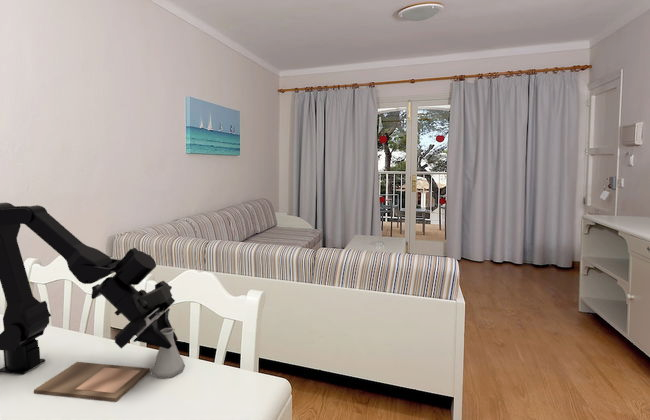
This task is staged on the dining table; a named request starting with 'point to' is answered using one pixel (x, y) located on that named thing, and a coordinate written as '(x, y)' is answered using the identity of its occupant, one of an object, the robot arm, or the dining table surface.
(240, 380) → the dining table surface
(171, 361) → the flask
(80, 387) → the walnut board
